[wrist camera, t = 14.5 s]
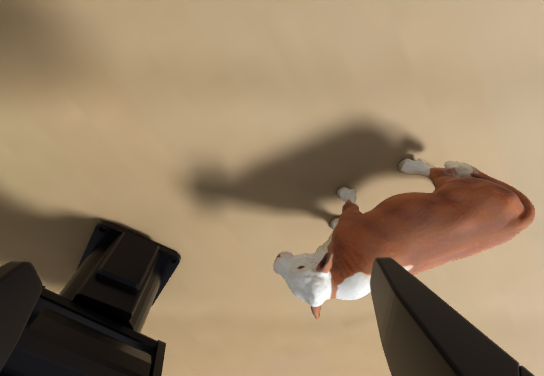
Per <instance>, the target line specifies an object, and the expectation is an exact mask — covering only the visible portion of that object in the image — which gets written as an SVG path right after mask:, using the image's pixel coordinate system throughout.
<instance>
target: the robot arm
mask: <svg viewBox="0 0 544 376" xmlns="http://www.w3.org/2000/svg"><path fill="white" fill-rule="evenodd" d="M102 227H104V228H105V229H103V228H102ZM172 258H174V259H176V260H174V259H172ZM180 259H181V256H180V255H179V254H178V253H176V252H174V251H172V250H169V249H167V248H165V247H163V246H160V245H158V244H156V243H154V242H151V241H149V240H147V239H145V238H142V237H140V236H138V235H136V234H133V233H131V232H129V231H127V230H125V229H122V228H120V227H118V226H116V225H113V224H111V223H109V222H106V221H100V222H99V223H98V224H97V226H96V227H95V229H94V232H93V234H92V236H91V238H90V241H89V243H88V245H87V248H86V250H85V252H84V255H83V257H82V259H81V261H80V264H79V266H78V268H77V271H76V273H75V274H74V275H73V276H72V278H71V279H70V280H69V282H68V283H67V284H66V286H65V287H64V288H63V290H62V291H61V292H60V294H59V295H58V294H56V293H54V292H52V291H50V290H47V289H45V286H43V285H42V282H41V280H40V278H39V276H38V274H37V272H36V270H35V268H34V266H33V265H32V263H30V262H29V261H11V262H9V263H7V264H5V265H3V266H1V267H0V376H161V374H162V368H163V361H164V354H165V347H166V343H164V342H162V341H160V340H158V341H156V340H154V339H152V338H150V337H148V336H146V335H143V334H141V333H140V332H141V330H142V327H143V325H144V323H145V320H146V318H147V315H148V313H149V310H150V308H151V306H152V305H153V304H154V302H155V300H156V299H157V297H158V296H159V294H160V293H161V291H162V289H163V288H164V286H165V285H166V283H167V282H168V280H169V278H170V277H171V275H172V274H173V272H174V271H175V269H176V267H177V266H178V264H179V262H180ZM370 290H371V295H372V300H373V305H374V309H375V314H376V319H377V324H378V328H379V333H380V338H381V342H382V347H383V350H384V353H385V357H386V360H387V363H388V366H389V369H390V372H391V375H392V376H534V375H533V374H532V373H531V372H530V371H528V370H527V369H526V368H525V367H523V366H519V363H518V362H517V361H516V360H515V359H514V358H512V357H511V356H510V355H509V354H508V353H506V352H505V351H504V350H503V349H501V348H500V347H499V346H498V345H497V344H495V343H494V342H493V341H492V340H491V339H489V338H488V337H487V336H486V335H485V334H483V333H482V332H481V331H480V330H479V329H477V328H476V327H475V326H474V325H472V324H471V323H470V322H469V321H468V320H466V319H465V318H464V317H463V316H462V315H460V314H459V313H458V312H457V311H456V310H454V309H453V308H452V307H451V306H449V305H448V304H447V303H446V302H445V301H443V300H442V299H441V298H440V297H439V296H437V295H436V294H435V293H434V292H433V291H431V290H430V289H429V288H428V287H427V286H425V285H424V284H423V283H422V282H420V281H419V280H418V279H417V278H416V277H414V276H413V275H412V274H411V273H410V272H408V271H407V270H406V269H405V268H404V267H402V266H401V265H400V264H399V263H397V262H396V261H395V260H394V259H392V258H390V257H377V258H375V259H374V261H373V266H372V272H371V278H370Z"/></svg>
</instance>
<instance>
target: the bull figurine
mask: <svg viewBox="0 0 544 376" xmlns="http://www.w3.org/2000/svg"><path fill="white" fill-rule="evenodd" d="M444 166H445V168H437V167H433V166H430V165H428V164H426V163H425V162H424V161H423V160H422V159H420V158H419V159H418V160H417V161H413V160H410V159H404V160H402V161H401V162H400V163H399V165H398V170H399V171H400V172H403V173H408V174H422V175H425V176H427V177H429V178H430V179H431V180H433V182H434V185H435V191H434V192H433V193H418V192H413V193H403V194H398V195H395V196H392V197H390V198H388V199H386V200H384V201H383V202H381V203H380V204H379V205H377V206H376V207H375V208H374V209H372V210H371V211H369V212H366V213H364V214H362V213H361V212H360V211H359V207H358V205H357V204H356V203H355V201H356V190H355V189H352V190H350V189H348V188H347V187H341V188H339V189H338V191H337V196H338V197H339V198H340V199H342V200H343V201H345V202H346V203H345V205H344V206H343V208H342V214H341V215H340V217H339V218H334V219H333V220H331V222H330V226H331V228H332V229H334V230H333V233H332V234H331V235H330V237H329V239H328V240H327V241H326V242H325V243H324V244H323V245H321V246H319V247H318V248H317V250H316V252H315V254H308V253H304V254H300V255H296V256H294V255H293V254H292V253H290V252H287V251H285V252H281V253H279V254H278V256H277V258H276V259H275V261H274V271H275V273H277V274H280V275H281V276H282V277H283V278H284V279H285V281H286V283H287V285H288V286H289V288H290V290H291V291H292V293H293V294H294V295H295V296H297V297H298V298H299V299H301V300H303V301H306V302H307V303H308V304H309V305H311V310H312V312H313V314H314V316H315V318H316V319H319V316H320V309H321V304H322V303H323V302H324V301H325V300H327V299H342V300H354V299H359V298H361V297H363V296H365V295H367V294H368V293H369V292H371V290H370V278H371V272H372V266H373V261H374V259H375V258H377V257H390V258H392V259H394V260H395V261H396V262H397V263H399V264H400V265H401V266H402V267H404V268H405V269H406V270H407V271H408V272H410V273H411V274H412V275H415V274H417V273H420V272H423V271H426V270H428V269H431V268H434V267H437V266H439V265H442V264H444V263H447V262H450V261H453V260H456V259H461V258H465V257H468V256H472V255H474V254H477V253H479V252H482V251H484V250H486V249H489V248H492V247H494V246H497V245H500V244H502V243H505V242H507V241H509V240H511V239H512V238H513V237H515V236H516V235H517V234H519V233H520V231H522V230H524V229H525V228H527V227H528V226H529V225H530V224H531V223H532V221H533V220H534V217H535V208H534V206H533V205H532V203H531V202H530V200H529V199H528V198H527V197H526V196H525V195H523V194H522V193H521V192H520V191H518V190H517V189H515V188H513V187H512V186H510V185H508V184H506V183H504V182H501V181H499V180H496V179H494V178H492V177H489V176H487V175H486V174H484V173H482V172H480V171H479V170H478V169H476V168H474V167H473V166H471V165H468V164H466V163H460V162H452V161H448V162H445V164H444Z"/></svg>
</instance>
